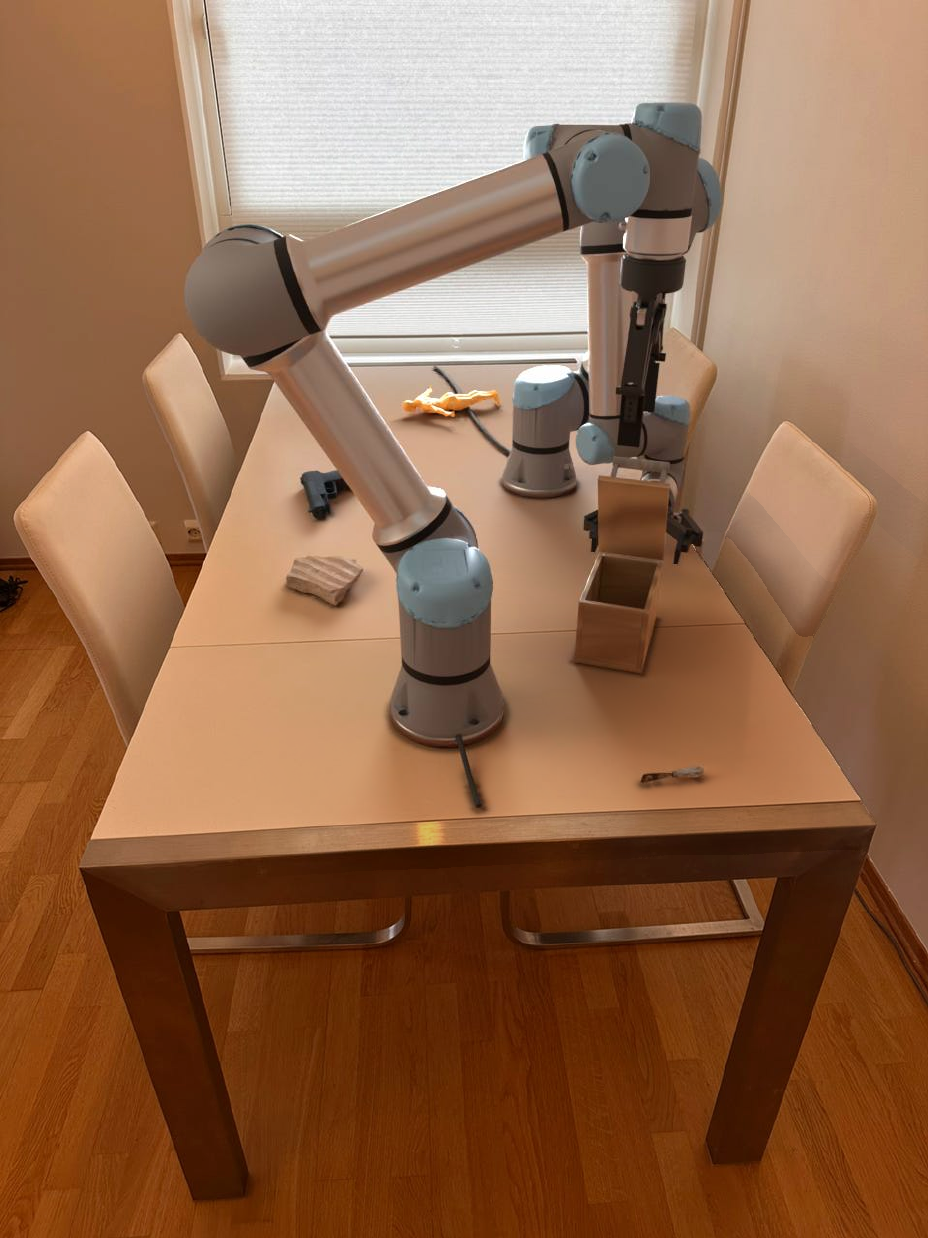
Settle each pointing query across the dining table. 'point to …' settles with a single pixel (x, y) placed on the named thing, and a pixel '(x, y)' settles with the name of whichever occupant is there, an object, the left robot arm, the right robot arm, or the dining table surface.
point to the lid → (633, 511)
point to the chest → (618, 612)
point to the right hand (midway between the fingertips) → (634, 551)
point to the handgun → (322, 490)
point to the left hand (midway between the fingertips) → (636, 427)
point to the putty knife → (674, 774)
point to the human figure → (448, 402)
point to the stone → (323, 576)
